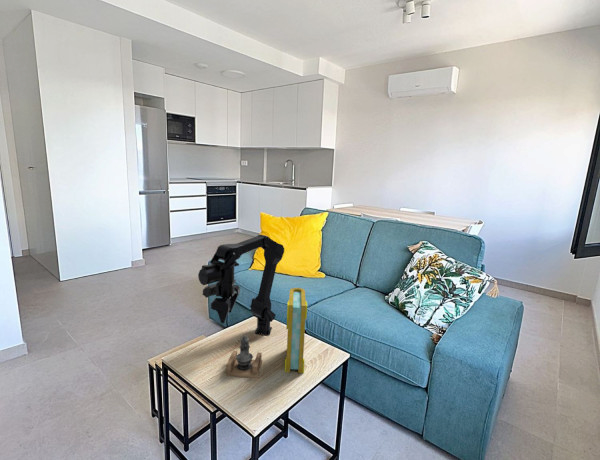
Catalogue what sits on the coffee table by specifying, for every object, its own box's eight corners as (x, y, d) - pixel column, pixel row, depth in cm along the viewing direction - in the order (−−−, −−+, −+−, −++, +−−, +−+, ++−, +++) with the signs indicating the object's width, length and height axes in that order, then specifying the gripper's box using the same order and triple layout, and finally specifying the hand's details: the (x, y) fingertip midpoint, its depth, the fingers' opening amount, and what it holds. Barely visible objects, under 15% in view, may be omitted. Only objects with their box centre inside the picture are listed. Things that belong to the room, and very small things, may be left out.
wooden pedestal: (232, 360, 120) (232, 350, 120) (262, 362, 120) (262, 352, 119) (225, 375, 111) (225, 364, 111) (257, 377, 111) (257, 367, 110)
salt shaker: (232, 368, 114) (233, 336, 112) (241, 359, 119) (241, 329, 117) (247, 372, 112) (248, 340, 110) (255, 363, 117) (256, 332, 115)
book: (303, 373, 115) (307, 305, 110) (284, 372, 115) (287, 305, 110) (303, 347, 131) (306, 288, 127) (286, 346, 131) (288, 287, 127)
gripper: (213, 270, 132) (213, 306, 135) (196, 285, 114) (196, 327, 117) (240, 271, 132) (240, 308, 135) (227, 287, 113) (227, 329, 116)
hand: (226, 317), depth 126 cm, fingers open, 9 cm apart
